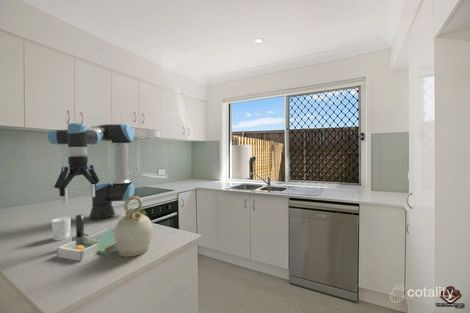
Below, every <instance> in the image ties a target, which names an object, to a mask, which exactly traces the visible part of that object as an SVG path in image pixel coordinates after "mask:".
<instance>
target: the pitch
mask: <svg viewBox="0 0 470 313" xmlns="http://www.w3.org/2000/svg"><path fill="white" fill-rule="evenodd" d="M114 233H115V229H112V228H111V227H110V228H107V229H106V228H105V229H104V230H102V231H99V232H97V233H93V234H91V235H90V236H91V237H99V238H100V243H99V244H98V253H97V254H99V255H108V254H110V253H112V252H114V251H115V250H118V249H117V245H116V241H115V235H114ZM78 245H82V246H84V249H86V248H88V247H90V246H92V245H95V244H93V243H86V242H81V241H80V242H76V246H78Z"/></svg>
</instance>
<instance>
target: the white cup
mask: <svg viewBox="0 0 470 313" xmlns="http://www.w3.org/2000/svg"><path fill="white" fill-rule="evenodd" d="M71 220H72V217H70V216H64V217H57V218H53V219H52V220H51V229H52V230H51V231H52V237H53V238H52V239H53V241H63V240H66V239H69V238H70V237H71V226H72V225H71V222H72V221H71Z"/></svg>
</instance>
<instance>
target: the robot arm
mask: <svg viewBox="0 0 470 313" xmlns="http://www.w3.org/2000/svg"><path fill="white" fill-rule="evenodd" d="M134 136H135V135H134V131H133V129H132V127H131V125H129V124H122V123H121V124H119V123H118V124H113V123H112V124H106V123H105V124H101V125H99V124H98V125H95V126H94V125H93V126H91V127H87V125H86V124H85V123H79V122H78V123H77V122H75V123H74V122H71V123H68V124H67V129H52V130H50V131H49V132H48V133H47V140H48V141H49V143H50V144H52V145H67V155H68V157H67V158H68V159H67V160H68V162H67V164H68V166H61V171H60V174H59V176H58V178H57V180H56V182H55V183H54V187H53V188H54V189H58V190H59V197H61V204H68V200H69V198H68V188H67V187H68V185H69V184H70V183H71V182H72V180H73V178H74V177H76V176H83V177H84V178H85V179H86V180H87V181H88V182H89V186H88V187H89V189H88V192H89V193H88V194H89V197H90V198H91V204H92V205H91V206H92V207H91V210H90V213H89V219H90V220H104V219H109V218H113V217H115V209H114V206H113V203H112V202H125V201H126V199H127V198H129V197H131V196H135V190H136V189H135V188H136V187H135V185H134V184H133V183H132V180H130V172H129V169H130V168H129V167H130V166H129V145H131V142H132V141H134V138H135V137H134ZM101 141H104V142H111V144H112V145H113V146H114V175H115V177H114V179H115V180H114V181H113V182H103V183H99V182H100V179H99V177H98V175H97V173H96V171H95V169H94V165H92V164H88V163H89V161H88V156H87V155H88V154H89V152H88V145H98V144H99V143H100V142H101Z"/></svg>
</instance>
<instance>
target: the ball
mask: <svg viewBox="0 0 470 313" xmlns="http://www.w3.org/2000/svg"><path fill="white" fill-rule="evenodd" d="M74 249H77V250H84V246H82V245H78V246H76V247H75V248H74Z"/></svg>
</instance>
